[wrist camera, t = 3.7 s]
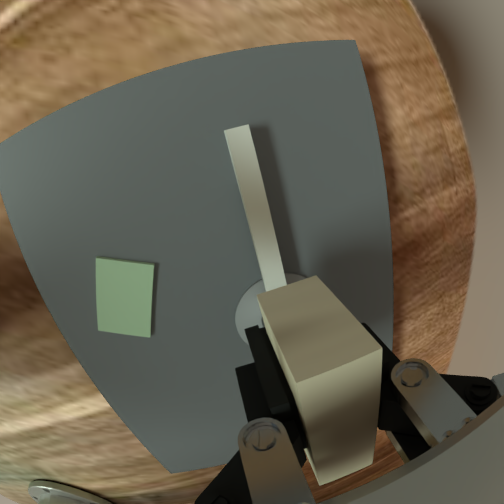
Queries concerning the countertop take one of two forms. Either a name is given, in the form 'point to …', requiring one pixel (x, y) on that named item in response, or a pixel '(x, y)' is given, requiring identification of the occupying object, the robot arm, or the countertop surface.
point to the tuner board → (198, 227)
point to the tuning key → (312, 341)
